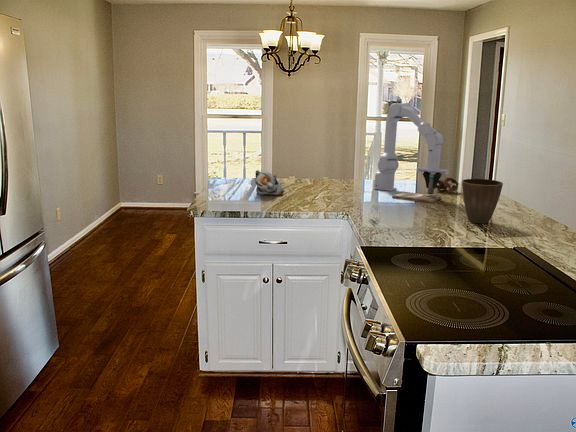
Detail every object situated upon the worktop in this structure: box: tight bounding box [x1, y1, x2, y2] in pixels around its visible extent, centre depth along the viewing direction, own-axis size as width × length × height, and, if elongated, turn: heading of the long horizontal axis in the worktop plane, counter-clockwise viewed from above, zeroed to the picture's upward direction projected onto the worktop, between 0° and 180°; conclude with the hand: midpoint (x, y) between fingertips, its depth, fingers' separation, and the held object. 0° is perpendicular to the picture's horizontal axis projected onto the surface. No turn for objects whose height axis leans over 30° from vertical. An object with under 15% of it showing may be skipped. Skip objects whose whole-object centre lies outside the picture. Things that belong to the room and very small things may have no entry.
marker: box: [427, 173, 435, 195], centre depth 254 cm, size 3×3×9 cm
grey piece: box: [255, 169, 286, 196], centre depth 255 cm, size 15×12×14 cm
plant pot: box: [461, 178, 504, 224], centre depth 210 cm, size 15×15×16 cm
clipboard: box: [392, 191, 442, 204], centre depth 256 cm, size 19×14×1 cm
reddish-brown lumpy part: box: [436, 177, 459, 194], centre depth 273 cm, size 12×10×8 cm
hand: (431, 188), depth 255 cm, fingers closed on marker, 3 cm apart
